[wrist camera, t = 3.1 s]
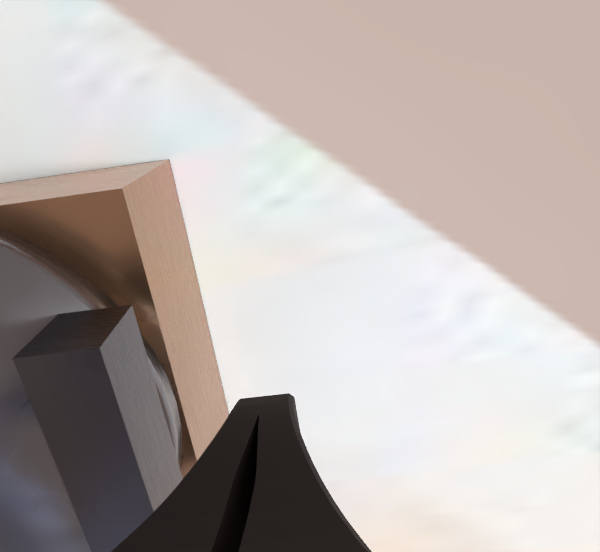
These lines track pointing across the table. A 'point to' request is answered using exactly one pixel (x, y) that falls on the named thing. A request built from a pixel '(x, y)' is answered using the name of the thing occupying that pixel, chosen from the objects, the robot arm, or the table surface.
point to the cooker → (133, 271)
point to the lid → (77, 410)
